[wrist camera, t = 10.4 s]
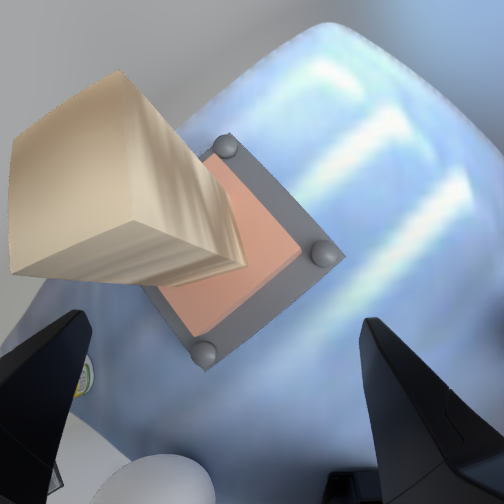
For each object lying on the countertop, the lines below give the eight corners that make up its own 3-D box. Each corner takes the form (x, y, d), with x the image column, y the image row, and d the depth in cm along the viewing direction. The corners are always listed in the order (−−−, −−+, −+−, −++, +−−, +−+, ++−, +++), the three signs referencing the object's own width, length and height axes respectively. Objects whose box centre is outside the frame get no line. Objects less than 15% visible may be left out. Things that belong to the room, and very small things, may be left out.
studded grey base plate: (341, 260, 22) (351, 251, 17) (215, 364, 22) (191, 382, 17) (237, 146, 24) (220, 115, 19) (128, 244, 25) (92, 234, 20)
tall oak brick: (248, 267, 18) (133, 219, 6) (178, 286, 18) (10, 274, 6) (229, 195, 18) (120, 69, 7) (163, 218, 19) (13, 140, 7)
